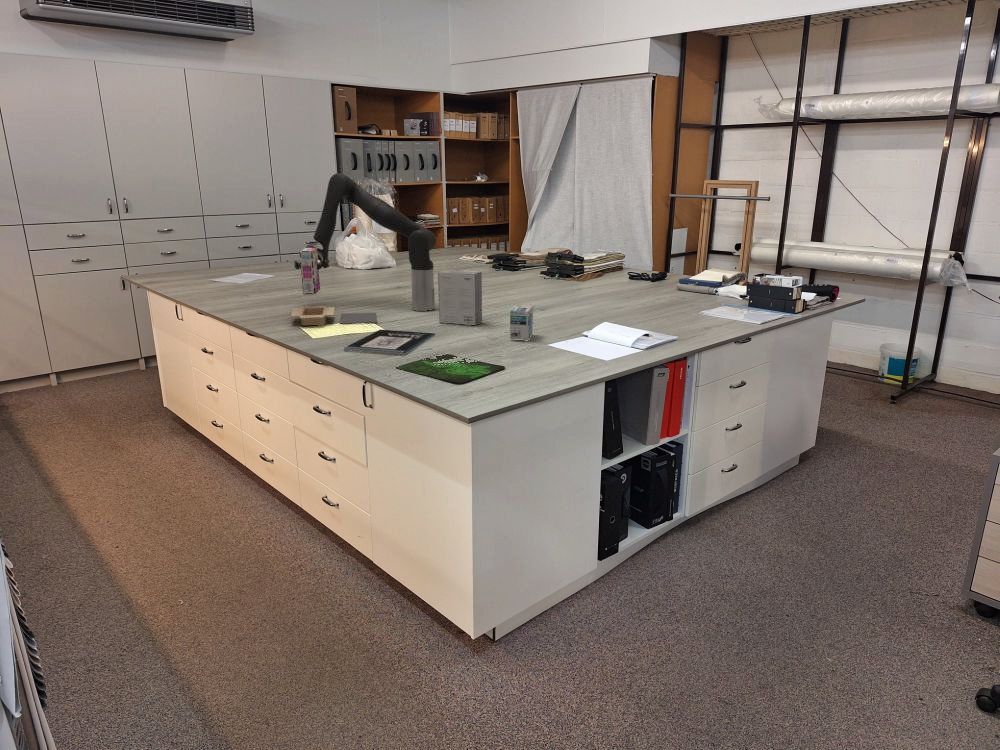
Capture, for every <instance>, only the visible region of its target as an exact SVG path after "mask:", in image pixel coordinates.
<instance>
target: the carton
mask: <svg viewBox="0 0 1000 750" xmlns="http://www.w3.org/2000/svg"><path fill="white" fill-rule="evenodd" d="M334 314H335V306H329V307H327V306H326V305H309V306H308V305H307V306H303V307H298V308H297V307H293V310H292V312H291V315H290V318H298V317H299V319H300V325H318V326H325V325H326V321H327V317H332V316H334ZM325 320H326V321H325Z"/></svg>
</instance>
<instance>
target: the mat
mask: <svg viewBox="0 0 1000 750" xmlns="http://www.w3.org/2000/svg"><path fill="white" fill-rule="evenodd" d="M339 318H340V320H339V325H340V324H342V325H353V324H352V323H372V324H377V323H378V320H377V312H357V313H356V312H354V313H350V312H349V313H346V312H345V313H340V317H339Z"/></svg>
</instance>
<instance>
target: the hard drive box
mask: <svg viewBox="0 0 1000 750" xmlns="http://www.w3.org/2000/svg"><path fill="white" fill-rule="evenodd" d="M437 277H438V279H437V280H438V281H437V282H438V283H437V285H438V312H439V313H438V314H439V315H438V316H439V318H438V319H439V320H438V321H439V322H445V323H444V324H446V323H458V324H457V325H459V324H468V325H467V326H471V325H475V326H478V325H479V324H481V323H482V322H483V289H482V288H483V285H482V283H483V280H482V277H483V275H482V271H477V270H476V271H475V270H454V269H452V270H451V269H445V270H442V271H439V272H437ZM480 322H481V323H480ZM478 323H479V324H478ZM477 324H478V325H477Z"/></svg>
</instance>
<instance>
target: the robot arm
mask: <svg viewBox="0 0 1000 750" xmlns="http://www.w3.org/2000/svg"><path fill="white" fill-rule="evenodd" d="M342 199H343V200H346V201H347V202H349V203H351V204H352V205H355V206H357V207H358V208H359V209H360V210H361V211H362V212H363V213H364V214H365V215H366V216H367V217H368V218H369V219H370V220H372V221H374V222H375V223H376V224H378V225H379V226H380V227H383V228H384V229H387V230H389V231H392V232H395V233H397V234H399V235H401V236H404V237H405V238H407V239H408V241H407V243H408V244H407V247H408V248H407V249H408V260H409V264H410V267H411V269H410V271H411V272H410V273H411V300H412V301H411V303H412V304H411V307H412V308H411V309H412V310H413V311H415V310H416V311H417V312H428V311H427V310H430V311H433V310H432V309H435V308H436V306H435V305H436V303H435V298H436V297H435V295H436V294H435V283H434V280H435V279H434V276H435V275H434V274H435V273H434V262H433V261H432V260H431V257H430V251H432V250H433V249H434V248H435V247H436V245H437V239H436V235H435V234H434V233H433V232H432V231H431V230H430V229H428V228H426V227H424V226H422V225H420V224H419V223H416V222H415V221H413V220H412V219H410V218H409V217H408V216H407V215H405V214H404V213H402V212H401V211H399V210H398V209H397V208H395V207H393V206H392V205H391V204H389V203H388V202H386V201H385V200H383V199H381V198H379V197H377V196H376V195H374V194H372V193H369V192H368V191H366V189H364V188H363V187H361V186H360V185H359V184H358V183H356V181H354V180H353V179H352V178H351V177H350V176H347V175H346V174H345V173H344V174H343V173H340V172H336V173H335V174H333V175H331V177H330V179H329V181H328V184H327V189H326V194H325V200H324V204H323V208H322V212H321V214H320V219H319V221H318V224H317V226H316V228H315V232H314V235H313V240H314V241H316V242H317V243H319V244H320V245H321V246H322V248H319V247H316V246H313V245H306V246H305V247H304V248H317V254H318V263H317V269H318V270H319V271H320V270H321V269H328V268H329V267H330V265H331V262H330V259H329V250H330V244H331V240H332V237H333V236H334V233H335V229H336V226H337V216H338V214H337V213H338V209H339V205H340V202H341V200H342ZM299 261H300V260H299ZM299 261H297V260H294V261H293V267H294V269H295V270H301V263H300V262H299ZM435 310H436V309H435Z"/></svg>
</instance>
